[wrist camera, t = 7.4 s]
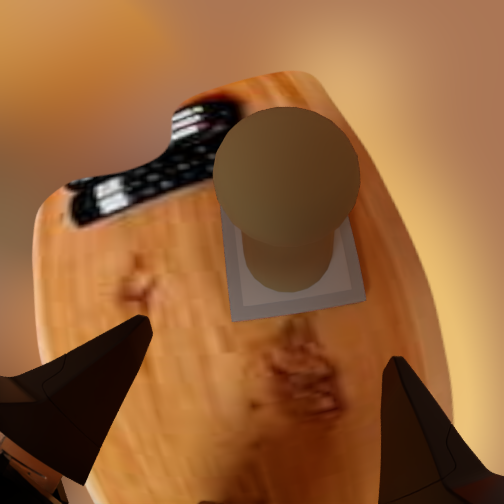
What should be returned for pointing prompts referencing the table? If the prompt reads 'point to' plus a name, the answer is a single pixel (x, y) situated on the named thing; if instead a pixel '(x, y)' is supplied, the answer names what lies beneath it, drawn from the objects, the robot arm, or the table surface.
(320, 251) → the cork
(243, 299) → the coaster
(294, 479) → the table surface
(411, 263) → the table surface
